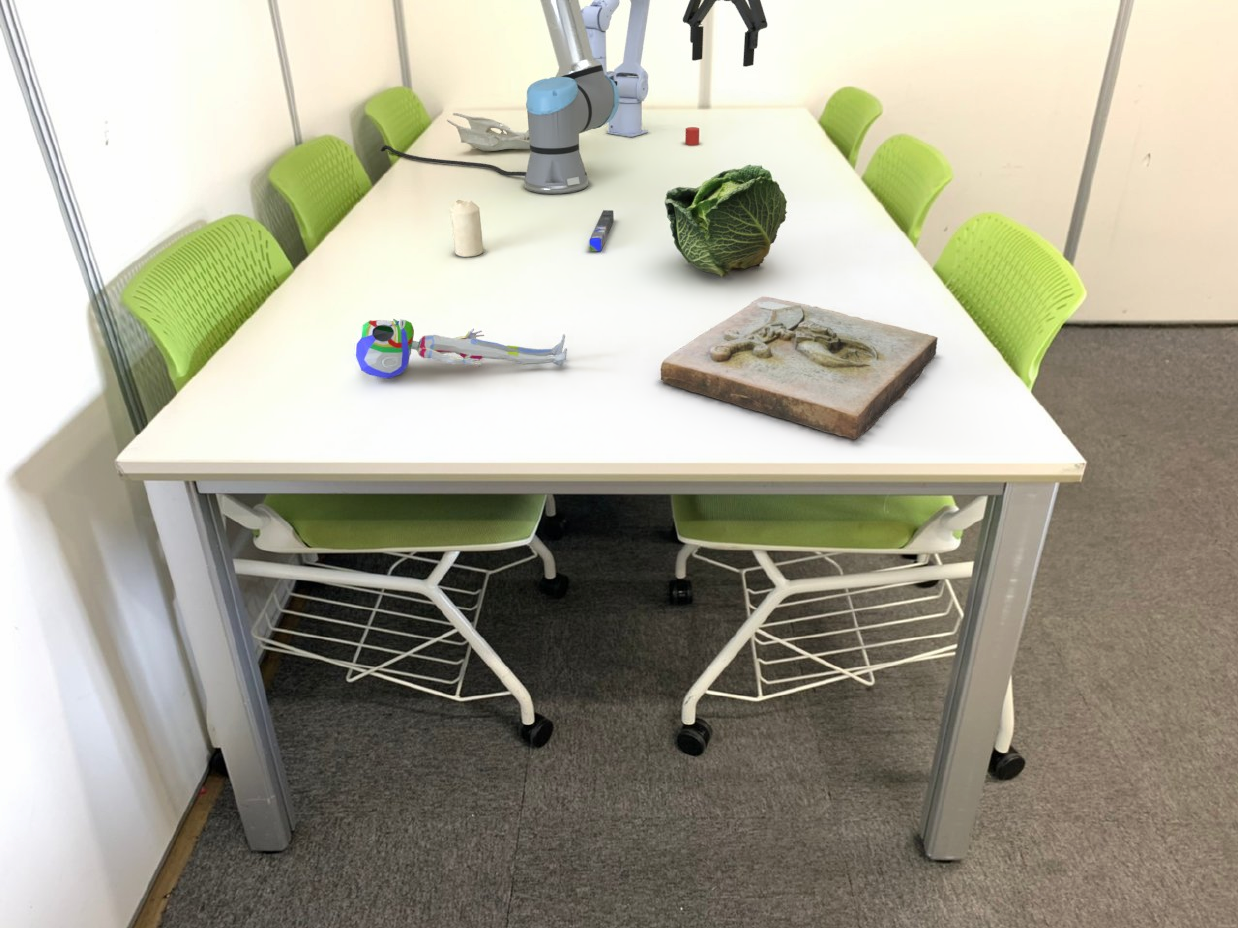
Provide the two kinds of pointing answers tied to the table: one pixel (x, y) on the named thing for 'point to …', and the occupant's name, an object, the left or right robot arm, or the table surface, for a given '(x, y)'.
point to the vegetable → (727, 219)
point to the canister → (692, 136)
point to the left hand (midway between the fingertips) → (722, 63)
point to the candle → (466, 228)
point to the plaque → (803, 364)
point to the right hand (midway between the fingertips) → (596, 111)
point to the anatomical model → (490, 135)
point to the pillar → (601, 230)
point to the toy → (435, 349)
